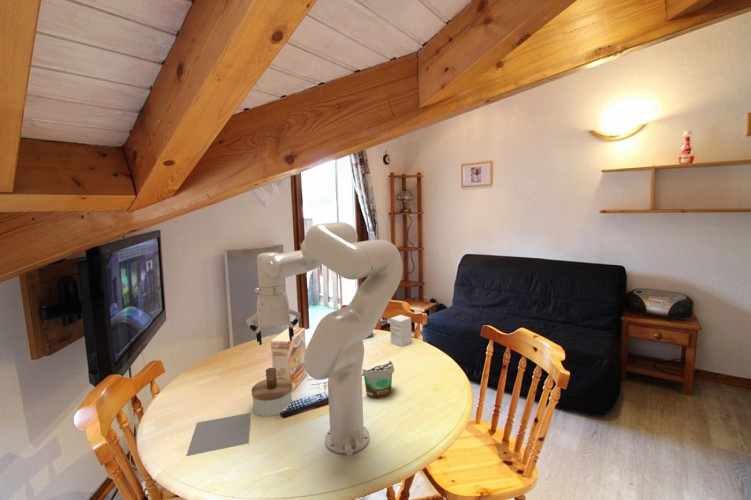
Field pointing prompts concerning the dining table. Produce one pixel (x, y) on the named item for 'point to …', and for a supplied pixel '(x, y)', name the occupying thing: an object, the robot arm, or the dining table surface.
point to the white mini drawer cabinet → (400, 330)
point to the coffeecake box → (289, 356)
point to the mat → (220, 434)
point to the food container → (379, 380)
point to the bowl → (271, 406)
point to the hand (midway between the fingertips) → (275, 341)
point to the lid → (271, 387)
